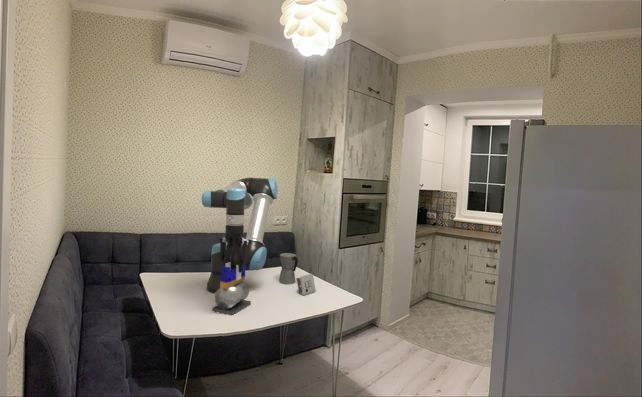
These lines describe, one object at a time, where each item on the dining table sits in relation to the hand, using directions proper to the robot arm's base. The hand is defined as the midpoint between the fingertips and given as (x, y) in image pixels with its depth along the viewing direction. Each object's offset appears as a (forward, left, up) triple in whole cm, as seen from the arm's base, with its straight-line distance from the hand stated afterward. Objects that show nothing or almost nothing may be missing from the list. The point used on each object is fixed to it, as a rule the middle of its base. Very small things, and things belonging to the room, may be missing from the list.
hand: (232, 278), depth 144 cm
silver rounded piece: (0, 0, -13) cm, 13 cm away
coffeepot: (+6, +45, -13) cm, 47 cm away
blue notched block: (0, 0, 0) cm, 0 cm away
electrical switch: (+21, +33, -13) cm, 41 cm away
